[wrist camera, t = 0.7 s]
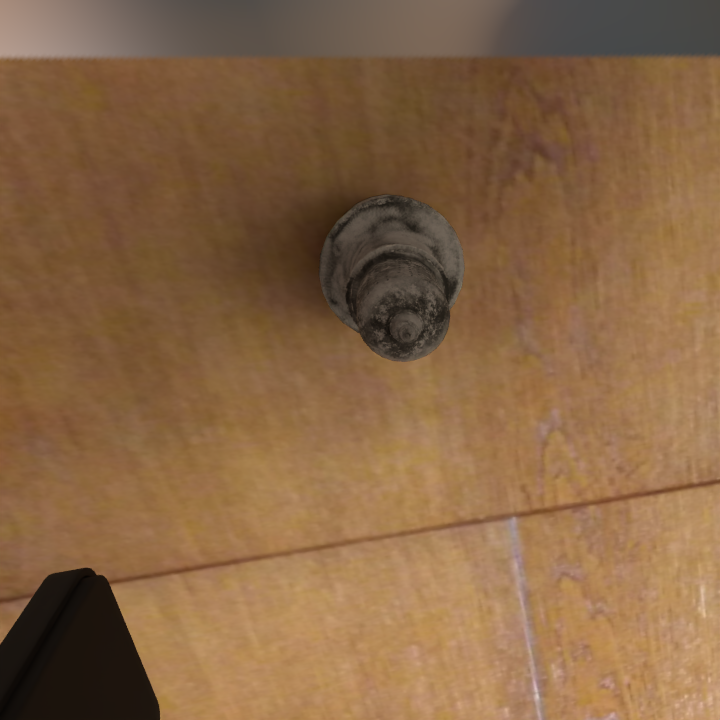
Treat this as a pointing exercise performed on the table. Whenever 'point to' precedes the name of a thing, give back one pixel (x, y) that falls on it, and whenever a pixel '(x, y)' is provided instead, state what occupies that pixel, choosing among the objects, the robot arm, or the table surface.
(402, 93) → the table surface
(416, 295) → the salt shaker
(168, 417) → the table surface
